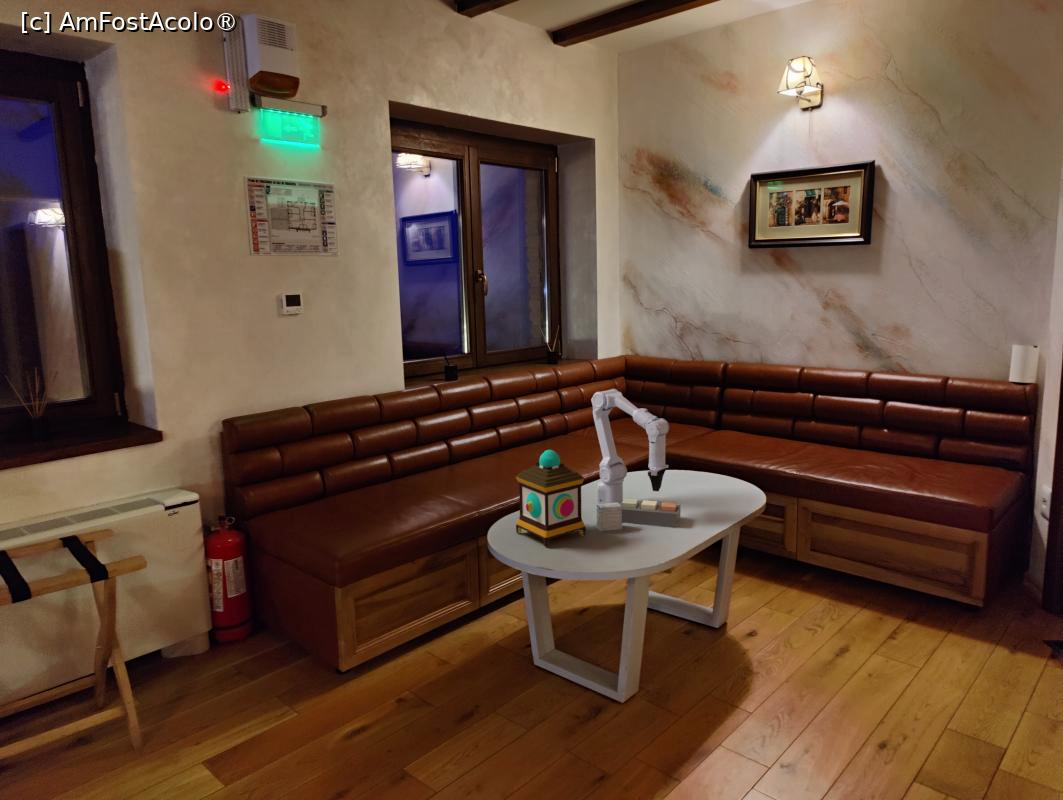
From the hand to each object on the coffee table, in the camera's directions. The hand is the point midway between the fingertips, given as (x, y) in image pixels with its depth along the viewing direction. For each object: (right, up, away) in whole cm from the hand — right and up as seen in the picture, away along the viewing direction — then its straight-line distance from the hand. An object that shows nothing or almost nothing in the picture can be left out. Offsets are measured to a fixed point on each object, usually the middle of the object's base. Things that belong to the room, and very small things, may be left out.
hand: (656, 489), depth 265 cm
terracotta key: (+4, -8, -4) cm, 9 cm away
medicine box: (-18, -13, -9) cm, 24 cm away
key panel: (-3, -11, -1) cm, 11 cm away
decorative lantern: (-39, -14, -13) cm, 43 cm away
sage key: (-10, -7, 0) cm, 12 cm away
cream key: (-3, -7, -2) cm, 8 cm away
